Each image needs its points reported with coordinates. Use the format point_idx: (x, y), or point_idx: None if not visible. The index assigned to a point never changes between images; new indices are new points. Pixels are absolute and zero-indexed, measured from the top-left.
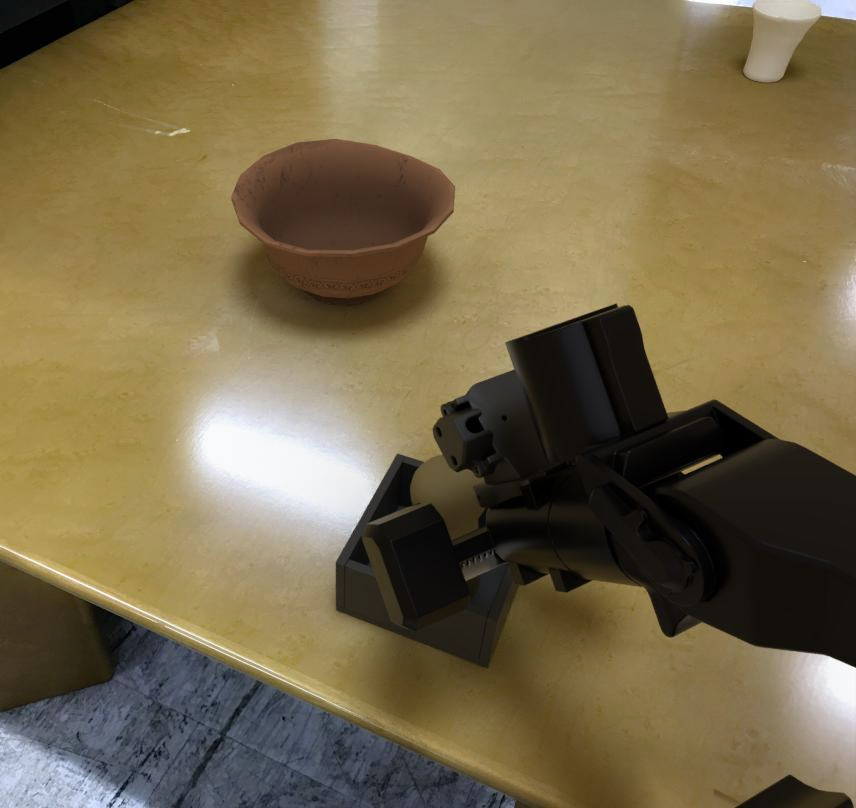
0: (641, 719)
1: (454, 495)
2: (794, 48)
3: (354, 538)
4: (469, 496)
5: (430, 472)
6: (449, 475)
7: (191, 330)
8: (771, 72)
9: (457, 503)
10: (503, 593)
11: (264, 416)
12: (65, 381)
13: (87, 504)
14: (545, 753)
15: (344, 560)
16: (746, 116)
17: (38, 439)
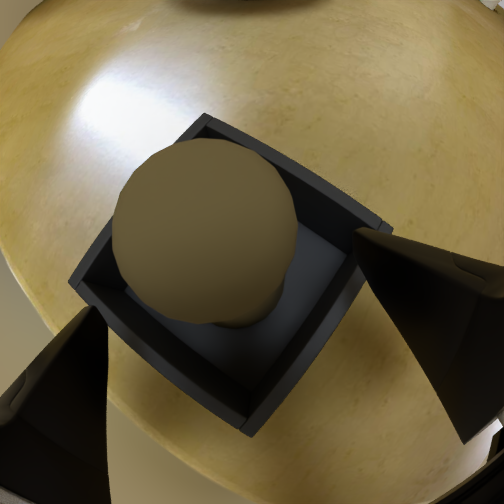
0: (379, 460)
1: (173, 283)
2: (498, 1)
3: (95, 247)
4: (217, 291)
5: (141, 192)
6: (180, 212)
7: (128, 20)
8: (490, 5)
9: (180, 304)
10: (278, 397)
11: (137, 72)
12: (45, 66)
13: (9, 156)
14: (280, 483)
15: (76, 281)
16: (485, 12)
17: (14, 108)
